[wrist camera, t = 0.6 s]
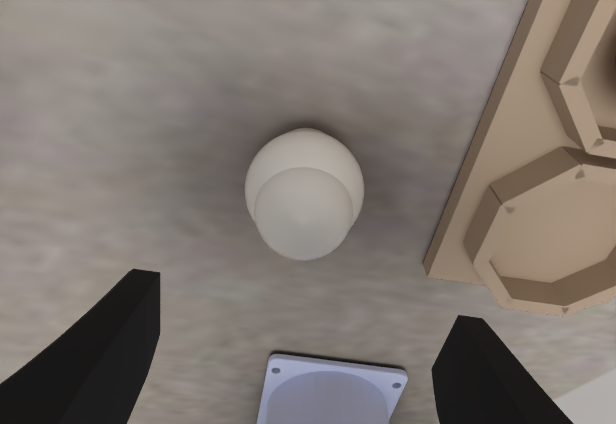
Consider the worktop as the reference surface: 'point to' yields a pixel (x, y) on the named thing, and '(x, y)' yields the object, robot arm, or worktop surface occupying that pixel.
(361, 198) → the cream egg
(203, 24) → the worktop surface
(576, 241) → the egg tray
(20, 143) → the worktop surface
